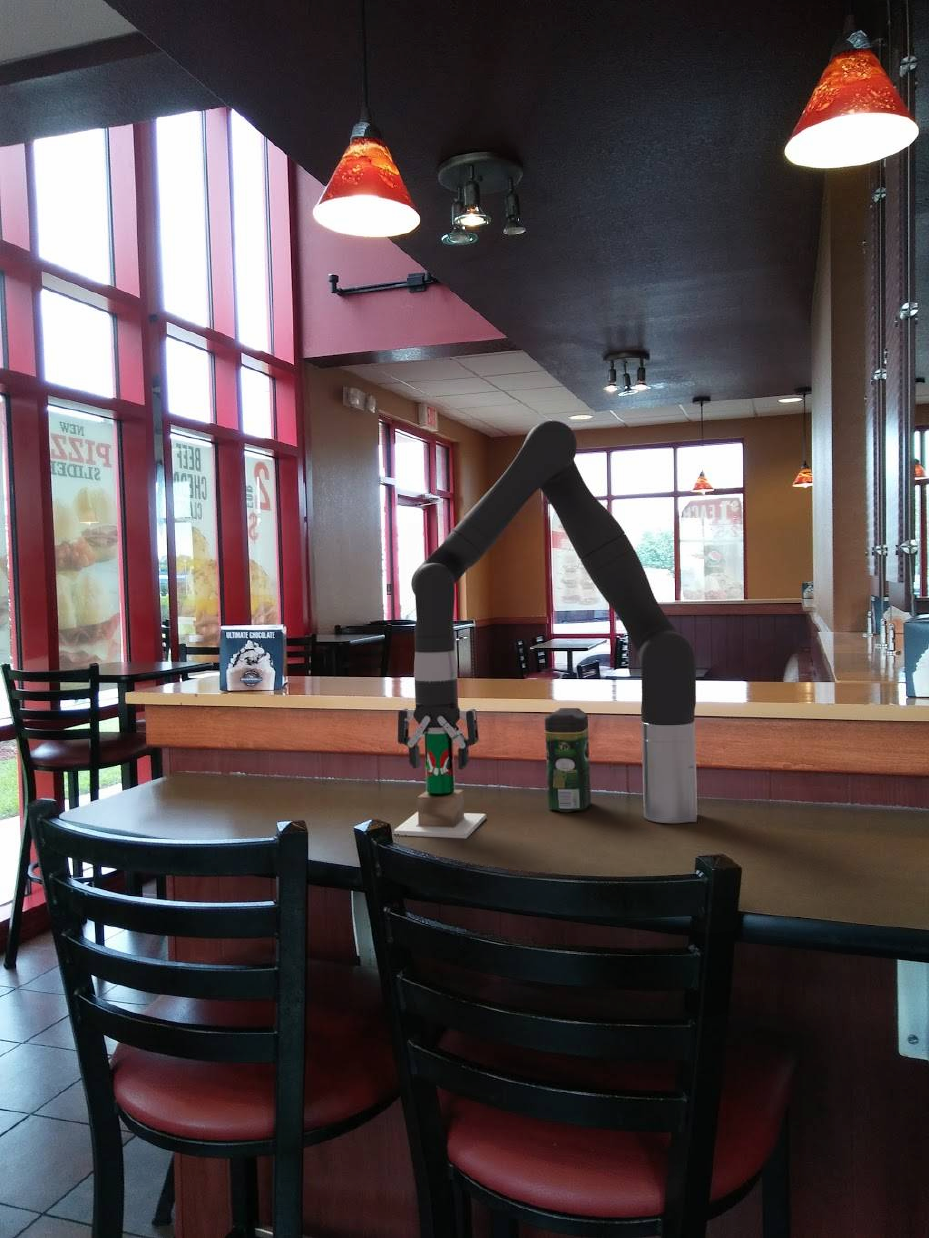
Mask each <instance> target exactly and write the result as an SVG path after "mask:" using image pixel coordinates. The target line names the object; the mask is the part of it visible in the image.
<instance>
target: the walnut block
mask: <svg viewBox="0 0 929 1238" xmlns="http://www.w3.org/2000/svg"><path fill="white" fill-rule="evenodd" d="M464 805H465V804H464V789H455V790H454V792H453V793H452V794H450V795H446V796H433V795H430V794H429V793H428V792H427V791H426V790H425V791H424V792H422V793H421V794H420V795H419V796H417V812H418V824H419V825H420V826H441V827H454V826H455V825H456V824H457V823H459V822H460V821H461V820H462V819H463V818H464V813H465V807H464Z"/></svg>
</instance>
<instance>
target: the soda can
mask: <svg viewBox="0 0 929 1238" xmlns="http://www.w3.org/2000/svg"><path fill="white" fill-rule="evenodd" d="M423 737H424V759H425V761H424V763H425V784H426V785H425V789H426V790H425V791H427V792H428V793H429V794H430V795H433V796H446V795H450V794H452V793H453V792H454V790H456V784H455V783H456V781H455V780H456V779H455V778H456V777H455V754H454V753H455V752H454V750H455V749H454V739H452V738H451V737H450V736H449V734H448V733H447V732H446V730H445V729H444V728H443V727H430V728H429V727H427V730H426V732H425V733H424V736H423Z"/></svg>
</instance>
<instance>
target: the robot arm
mask: <svg viewBox="0 0 929 1238" xmlns="http://www.w3.org/2000/svg"><path fill="white" fill-rule="evenodd" d="M524 439H525V440H524V442H523V443H522V447H521V448H520V450H519V452H517V454H516V457H515V458H514V460H513V461H512V462H511V463H510V465H509V466H508V468H507V469H506V470H505V472H504V473H503V474H502V475H501V476H500V478H499V479H498V480H497V482H495V483H494V485H493V486H492V487H491V488H490V489H489V490H488V491H487V492H486V493H485V494H484V495H483V497H481V499H479V500H478V502H477V503H476V504H475V505H474V506H473V507H472V508H471V509H470V510H469V511H468V512H467V513H466V515H464V516H463V518H462V519H461V520H460V521H459V523H458V524H457V525H456V526H455V527H453V529H452V530H451V531H450V533H449V534H448V535H447V537H446V538H445V539H444V541H443V543H442V544H440V545H439V546H438V547H437V548H436V549H435V550H434V551H433V552H432V553H431V554H430V555H429V556H428V557H427V558H426V559H425V560H424V561H423V562H422V564H421V565H419V567H418V568H417V569H416V570H415V572H414V573H413V575H412V578H411V586H410V587H411V591H412V593H413V594H414V597H415V599H414V600H415V613H416V615H415V616H416V617H415V618H416V620H415V624H414V632H413V633H414V661H413V662H414V663H413V669H414V670H413V677H414V698H415V699H414V701H415V708H414V710H413V709H412V710H409V708H403V709H401V710H399V711H398V714H397V715H398V716H397V742H398V743H399V744H400V745H405V746H407V748H408V762H409V764H410V766H412V769H419V768H420V767H421V757H420V756H421V753H420V751H421V750H420V745H419V742H420V741H421V740H422V738H423V737H424V733H425V732H426V730H427V727H429V728H430V727H443V728H444V729H445V730H446V732H447V733H448V734H449V736H450V737H451V738H452V739H453V742H455V744H457V746H458V747H459V748H457V753H458V754H457V758H458V759H457V760H458V770H465V769H466V767H467V766H468V765H469V763H470V759H469V758H470V757H469V756H470V755H469V754H470V753H469V752H470V751H469V747H470V746H473V745H475V744H477V743H478V742H479V741H480V739H479V727H478V726H479V725H478V716H477V711H476V709H475V708H470V709H468V710H461V709H460V707H459V695H458V694H459V693H458V686H459V685H458V664H457V656H456V651H455V649H456V648H455V647H456V645H455V643H456V642H455V628H454V616H455V615H454V614H455V597H456V592H455V591H456V587H455V586H456V583H458V581H459V580H460V579H461V578H462V576H463V575H464V574H465V573H466V572H467V571H468V570H469V569H470V568H471V567H473V566H475V565H476V564H477V563H478V562H479V561H480V560H481V559H482V557H484V556H485V554H486V553H488V551H489V550H490V548H491V547H492V546H493V545H494V544H496V541H498V539H499V538H500V536H502V535H503V533H504V532H505V530H506V529H507V528H508V526H509V525H510V523H512V521H513V520H514V518H515V517H516V516H517V514H518V513H519V512H520V510H521V509H522V508H523V507H524V506H525V504H526V503H527V502H528V501H529V500H530V499H531V497H533V496H534V494H535V493H536V492H537V491H538V490H539V489H540V491H541V492H542V494H543V495H544V496H545V498H546V499H547V500H548V502H549V503H550V505H551V506H552V509H553V510H554V512H555V513H556V516H557V517H558V520H559V522H560V524H561V526H562V527H563V530H564V532H565V534H566V536H567V538H568V539H569V541H570V543H571V544H570V545H571V546H572V547H573V549H574V551H575V554H576V555H577V557H578V558H579V561H580V562H581V563H582V566H583V568H584V569H585V571H586V572H587V574H588V576H589V578H590V580H591V581H592V583H593V584H594V585H595V587H596V588H597V590H598V591H599V593H600V594H601V596H602V597H603V598H604V599H605V601H606V602H607V604H608V605H609V606H610V607H611V609H612V610H613V612H614V613H615V614H616V615H617V617H618V618H619V621H621V623H622V625H623V627H624V629H625V631H626V633H627V635H628V637H629V639H630V641H631V643H632V646H633V649H634V651H635V653H636V655H637V658H638V661H639V664H640V668H641V671H640V672H641V673H640V674H641V706H640V713H641V714H640V715H641V716H640V720H641V754H642V755H641V758H642V761H641V762H642V794H643V796H642V797H643V798H642V799H643V802H642V803H643V804H642V806H643V817H644V819H646V820H647V821H650V822H655V823H662V824H683V823H684V824H685V823H696V822H697V818H698V793H697V792H698V789H697V788H698V787H697V786H698V785H697V783H698V781H697V761H696V731H695V729H696V725H695V711H696V706H697V705H696V704H697V680H696V679H697V678H696V677H697V672H696V671H697V670H696V669H697V667H696V665H697V664H696V655H695V650H694V647H693V646H692V644H691V643H690V641H689V640H688V639H687V638H686V637H684V636H683V635H682V634H680V632H678V630H677V629H676V628H675V626H674V625H673V624H672V622H671V620H670V619H669V618H668V616H667V615H666V613H665V611H664V610H663V609H662V608H661V606H660V605H659V603H658V601H657V599H656V597H655V595H654V593H653V590H652V587H651V584H650V582H649V579H648V576H647V573H646V571H645V568H644V567H643V565H642V561H641V560H640V557H639V555H638V553H637V552H636V549H634V546H633V545H632V543H631V541H630V539H629V538H628V536H627V534H626V533H625V531H624V529H623V528H622V526H621V525H620V523H619V521H617V519H616V518H615V517H614V515H612V514H611V513H610V512H609V510H608V509H607V508H606V507H605V506H604V505H603V504H602V503H601V502H600V500H598V498H596V497H595V495H594V494H593V493H592V492H591V490H590V489H589V488H588V486H587V485H586V482H585V480H584V479H583V476H582V475H581V472H580V471H579V469H578V466H577V464H576V462H575V457H576V454H577V450H578V449H577V445H578V443H577V438H576V435H575V433H574V431H573V430H572V428H571V427H570V426H569V425H568V424H565V423H564V422H562V421H559V420H558V421H557V420H547V421H542V422H541V423H537V424H536V425H535V426H534V427H533V428H531V430H530V431H529V432H528V434H527V436H526V438H524ZM413 718H414V720H415V721H416V722H417V724H418V726H417V728H415V730H414V732H413V734H412V735H411V737H410V734H409V733H410V722H411V721H412V720H413ZM460 718H462V719H463V720H462V721H463V722H464V723H465V724H466V727H467V728H466V730H467V736H465V734H464V733H463V730H462V728H461V727H460V726H459V725H458V721H459V720H460ZM467 737H468V738H467Z"/></svg>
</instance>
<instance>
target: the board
mask: <svg viewBox="0 0 929 1238" xmlns="http://www.w3.org/2000/svg"><path fill="white" fill-rule="evenodd" d="M486 815H487V814H486V813H473V812H472V813H471V812H469V813H467V812H464V818H463V819H462V820H461V821H460V822H459V823H457V824H456V825H455V826H454V827H441V826H420V825H419V824H418V811H417V812H415V813H414V814H412V816H410V817H409V818H408V819H407V820H405V821H404V822H402V823H401V824H400V825H399V826H398V827H396V828H395V829H394V830H393V835H394V834H396V835H395V836H405V835H406V836H409V837H426V838H427V837H428V838H449V839H451V838H452V839H467V838H468V837H470V836H471V834H472V833H473V832H474V831H475V830H476V829H477V828H478V827H479V826H480V825H481V824H483V822H484V821H485V820H486V818H487V816H486ZM397 834H399V835H397Z"/></svg>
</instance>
